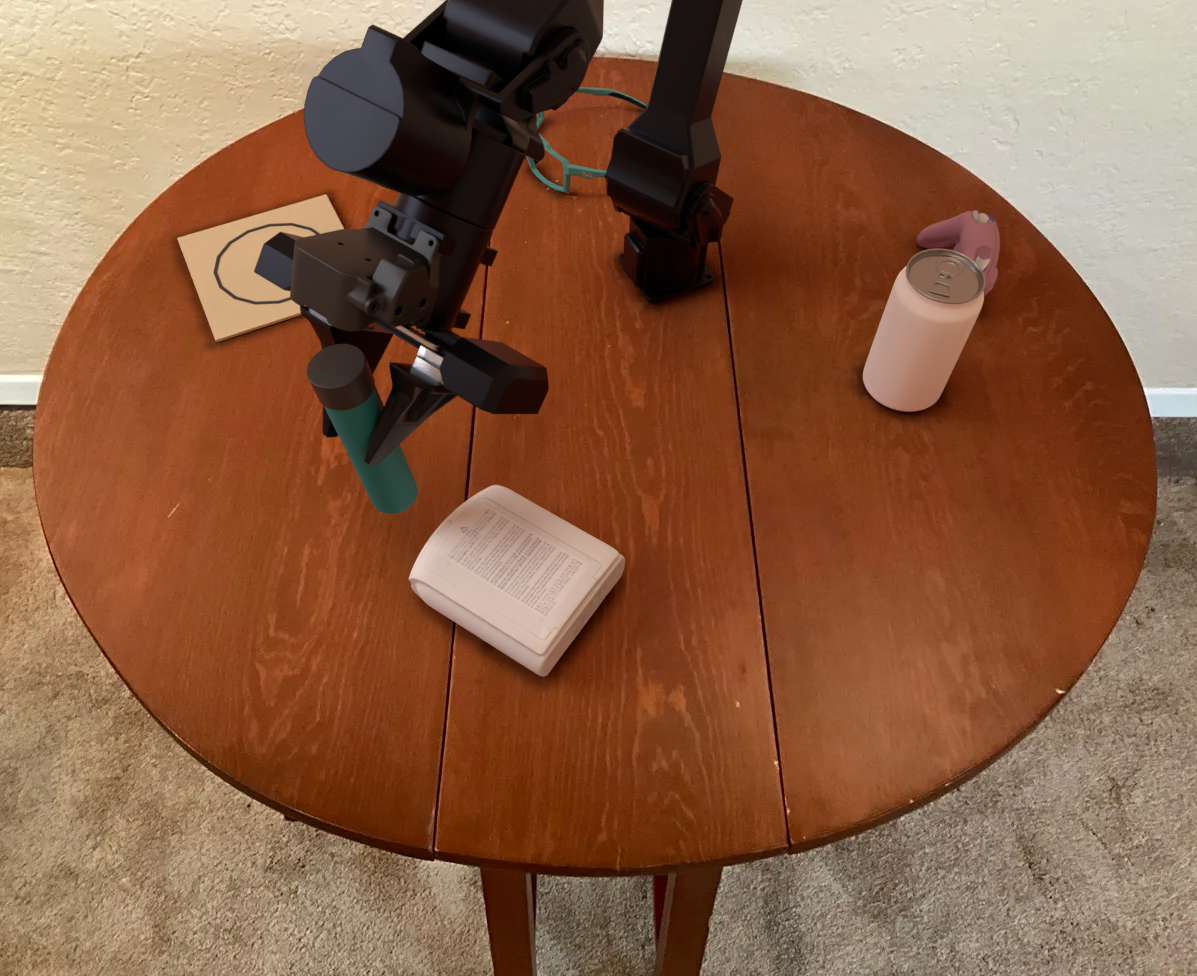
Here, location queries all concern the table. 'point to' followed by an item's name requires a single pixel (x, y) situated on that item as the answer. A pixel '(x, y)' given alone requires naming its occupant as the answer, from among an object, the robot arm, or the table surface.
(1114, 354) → the table surface
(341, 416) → the water bottle
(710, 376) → the table surface
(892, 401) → the can
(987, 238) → the video game controller
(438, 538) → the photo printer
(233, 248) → the sketch sheet
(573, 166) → the sunglasses
